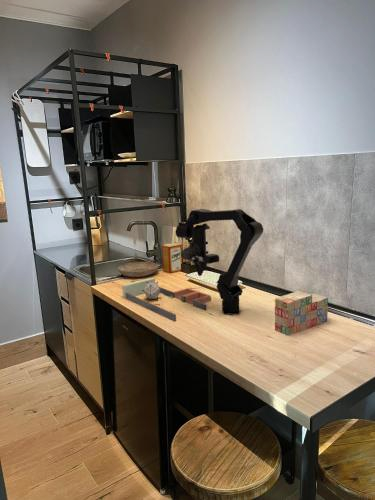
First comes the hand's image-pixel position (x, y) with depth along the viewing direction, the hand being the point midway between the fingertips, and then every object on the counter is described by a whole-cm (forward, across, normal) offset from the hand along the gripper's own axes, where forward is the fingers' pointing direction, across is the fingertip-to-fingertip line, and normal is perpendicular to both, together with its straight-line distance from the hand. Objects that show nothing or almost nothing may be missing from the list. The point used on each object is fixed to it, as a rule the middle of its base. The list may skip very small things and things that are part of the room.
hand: (200, 275), depth 158 cm
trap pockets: (+13, -8, +2) cm, 16 cm away
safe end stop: (+13, -32, -11) cm, 36 cm away
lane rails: (+13, -12, -11) cm, 21 cm away
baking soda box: (+13, -54, +25) cm, 61 cm away
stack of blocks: (+13, +42, +12) cm, 46 cm away
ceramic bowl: (+13, -63, +8) cm, 65 cm away
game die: (+13, -21, -11) cm, 27 cm away
